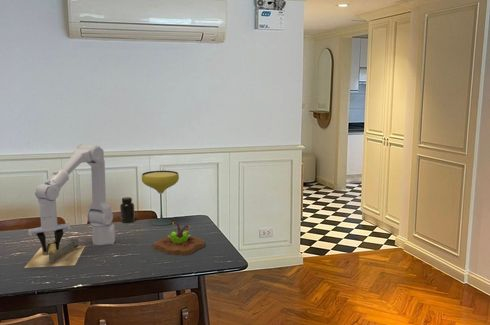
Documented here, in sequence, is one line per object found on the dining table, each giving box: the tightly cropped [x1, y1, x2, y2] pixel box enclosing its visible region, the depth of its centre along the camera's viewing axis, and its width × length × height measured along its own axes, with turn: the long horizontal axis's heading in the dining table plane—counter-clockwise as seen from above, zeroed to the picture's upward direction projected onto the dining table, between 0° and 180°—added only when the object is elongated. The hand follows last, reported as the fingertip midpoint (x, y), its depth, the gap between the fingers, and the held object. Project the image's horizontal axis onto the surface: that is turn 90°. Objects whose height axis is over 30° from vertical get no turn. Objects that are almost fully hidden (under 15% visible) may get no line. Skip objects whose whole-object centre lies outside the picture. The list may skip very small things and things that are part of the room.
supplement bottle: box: [119, 196, 136, 224], centre depth 238 cm, size 7×7×12 cm
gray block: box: [41, 240, 53, 256], centre depth 190 cm, size 2×6×4 cm, turn 164°
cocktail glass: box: [141, 170, 180, 227], centre depth 235 cm, size 18×18×25 cm
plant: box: [152, 221, 205, 256], centre depth 201 cm, size 20×20×11 cm
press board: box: [24, 245, 86, 269], centre depth 187 cm, size 18×22×1 cm
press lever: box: [47, 237, 79, 261], centre depth 187 cm, size 19×4×7 cm, turn 172°
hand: (51, 250), depth 179 cm, fingers open, 4 cm apart
